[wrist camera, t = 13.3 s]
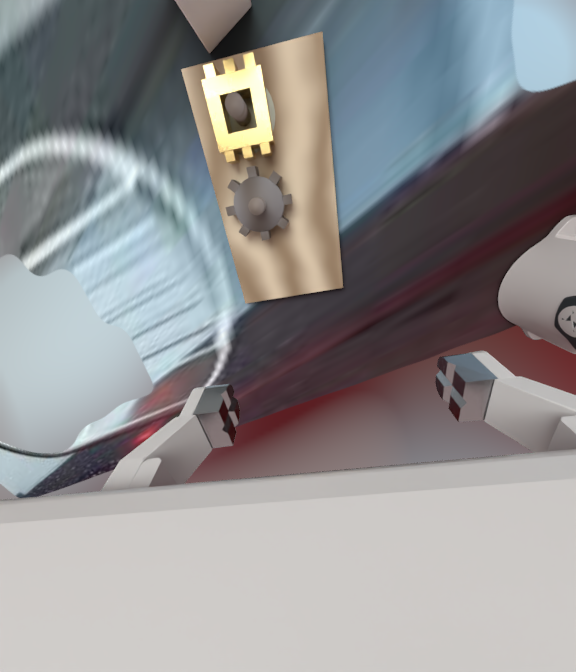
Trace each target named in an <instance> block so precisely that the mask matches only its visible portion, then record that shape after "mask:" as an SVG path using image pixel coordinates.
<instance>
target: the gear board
mask: <svg viewBox="0 0 576 672" xmlns="http://www.w3.org/2000/svg"><path fill="white" fill-rule="evenodd" d="M252 52H253V54H254V57H255V60H256V63H257V65H261V69H262V72H263V76H264V81H265V87H266V93H267V99H268V105H269V111H270V117H271V123H272V129H273V135H274V141H275V145H271V149H272V156H268V157H264V156H263V155H262V154H261V148H257V149H254V151H255V156H256V159H254V160H250V161H247V160H246V159H244V156H243V152H239V153H238V156H239V160H240V163H236V164H230V163H227V161H226V157H225V155H224V154H221V153H220V152H219V148H218V144H217V140H216V136H215V132H214V129H213V125H212V121H211V117H210V113H209V109H208V105H207V101H206V97H205V93H204V89H203V85H202V81H201V80H204V79H206V76H205V72H204V67H203V65H207V64H211V63H213V64H214V65H215V67H216V68H217V70H218V71H219V73H220V75H223V74H226V73H225V68H224V64H223V60H226V59H230V58H233V59H234V61H235V63H236V65H237V67H238V70H242V69H245V64H244V58H243V55H245V54H248V53H252ZM181 71H182V74H183V78H184V82H185V85H186V89H187V92H188V96H189V100H190V103H191V107H192V111H193V114H194V118H195V121H196V125H197V129H198V132H199V136H200V140H201V143H202V147H203V150H204V154H205V158H206V161H207V165H208V169H209V172H210V176H211V179H212V183H213V187H214V190H215V194H216V198H217V201H218V205H219V208H220V212H221V216H222V219H223V223H224V227H225V230H226V234H227V237H228V241H229V245H230V248H231V252H232V256H233V259H234V263H235V266H236V270H237V274H238V277H239V281H240V285H241V288H242V292H243V296H244V299H245V303H252V302H258V301H264V300H270V299H276V298H283V297H289V296H295V295H301V294H307V293H314V292H320V291H326V290H332V289H338V288H343V280H342V267H341V255H340V243H339V230H338V218H337V206H336V194H335V181H334V169H333V157H332V145H331V132H330V120H329V108H328V95H327V83H326V71H325V59H324V46H323V34H322V32H319V33H315V34H311V35H307V36H304V37H300V38H296V39H292V40H289V41H285V42H281V43H278V44H274V45H270V46H266V47H263V48H259V49H255V50H251V51H248V52H244V53H240V54H236V55H233V56H229V57H225V58H221V59H218V60H214V61H210V62H207V63H203V64H199V65H195V66H192V67H188V68H184V69H181ZM225 107H226V110H227V111H228V115H229V119H230V123H231V128H232V132H233V133H235V132H239V131H243V130H248V129H252V128H256V127H257V122H256V117H255V112H254V106H253V101H252V97H250V98H246V99H242V97H241V96H240V95H239V94H238V93H236V92H231V93H229V94H228V95H227V97H226V99H225Z"/></svg>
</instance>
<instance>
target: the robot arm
mask: <svg viewBox="0 0 576 672" xmlns="http://www.w3.org/2000/svg"><path fill="white" fill-rule="evenodd" d="M498 305H499V309H500V311H501V313H502V315H503V316H504V317H505V318H506V319H507V320H508V321H510V322H511V323H513V324H515V325H518V326H519V327H521V328H522V330H523V332H524V333H525V335H526V336H527V337H529V338H531V339H533V340H539V339H544V340H546V341H548V342H550V343H552V344H554V345H556V346H558V347H561V348H563V349H565V350H567V351H569V352H571V353H573V354H576V215H570V216H567V217H565V218H564V219H562V220H561V221H560V222H559V223H558V224H557V225H556V226H555V227H554V229H553V230H552V231H551V232H550V233H549V234H548V236H547V237H546V238H544V239H543V240H542V241H540V242H539V243H538V244H536V245H535V246H533V247H532V248H530V249H529V250H528V251H526V252H525V253H524V254H523V255H522V256H521V257H520V258H519V259H518V260H517V261H516V262H515V263H514V264H513V265H512V267H511V268H510V269H509V271H508V272H507V274H506V275H505V277H504V279H503V281H502V283H501V286H500V289H499V294H498ZM437 366H438V368H439V369H440V370H441V371H440V372H439V373H438V374H437V375H436V387H437V391H438V393H439V395H440V397H441V398H442V400H444V401H446V402H448V403H449V410H450V411H451V412H452V414H453V415H454V417H455V418H456V419H457V421H458V422H468V421H480V420H484V422H486V423H488V424H489V425H491V426H493V427H494V428H496V429H497V430H499V431H500V432H502V433H504V434H505V435H507V436H509V437H510V438H512V439H513V440H515V441H517V442H518V443H520V444H521V445H523V446H524V447H526V448H528V449H529V450H531V451H532V452H534V453H524V454H513V455H502V456H491V457H480V458H468V459H457V460H446V461H434V462H423V463H412V464H401V465H390V466H379V467H367V468H356V469H344V470H333V471H322V472H311V473H300V474H290V475H277V476H266V477H255V478H245V479H233V480H221V481H211V482H199V483H188V484H184V483H185V482H186V481H187V480H188V479H189V477H190V476H191V475H192V474H193V472H194V471H195V470H196V469H197V467H198V466H199V465H200V464H201V463H202V461H203V460H204V459H205V458H206V457H207V455H208V454H209V453H210V452H211V451H212V448H219V447H226V446H233V444H234V439H235V435H236V430H235V426H236V425H237V424H238V423H239V419H240V408H239V403H238V400H237V399H235V398H234V397H233V395H234V390H233V387H232V385H230V384H227V385H217V386H208V387H200V388H195V389H193V391H192V393H191V395H190V396H189V398H188V400H187V402H186V404H185V406H184V408H183V410H182V412H181V414H180V416H179V417H175V418H174V419H173V420H171V421H170V422H169V423H168V424H166V425H165V426H164V427H162V428H161V429H160V430H159V431H157V432H156V433H155V434H154V435H152V436H151V437H150V438H148V439H147V440H146V441H145V442H143V443H142V444H141V445H139V446H138V447H137V448H136V449H134V450H133V451H132V452H131V453H129V454H128V455H127V456H125V457H124V458H123V459H122V460H120V462H119V463H118V465H117V466H116V468H115V469H114V471H113V473H112V474H111V476H110V477H109V479H108V480H107V482H106V483H105V485H104V486H103V488H102V490H101V491H98V492H87V493H76V494H65V495H54V496H42V497H31V498H19V499H5V500H0V672H576V395H573V394H570V393H567V392H564V391H562V390H559V389H556V388H553V387H550V386H547V385H545V384H541V383H539V382H536V381H533V380H530V379H527V378H524V377H516V376H515V375H513V374H512V373H511V372H510V371H509V370H507V369H506V368H505V367H504V366H503V365H502V364H500V363H499V362H498V361H497V360H496V359H494V358H493V357H492V356H491V355H490V354H488V353H487V352H486V351H476V352H470V353H467V354H459V355H451V356H444V357H440V358H439V359H438V363H437Z"/></svg>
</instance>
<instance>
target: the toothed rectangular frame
mask: <svg viewBox="0 0 576 672" xmlns="http://www.w3.org/2000/svg"><path fill="white" fill-rule="evenodd" d="M243 58H244V64H245V69H242V70H238V67H237V65H236V63H235V61H234V59H233V58H230V59H226V60H223V64H224V68H225V73H226V74H223V75H220V73H219V71H218V70H217V68H216V67H215V65H214V64H213V63H211V64H207V65H203V67H204V72H205V76H206V79H204V80H201V81H202V85H203V89H204V93H205V97H206V101H207V105H208V109H209V113H210V117H211V121H212V125H213V129H214V132H215V136H216V140H217V144H218V148H219V152H220V153H221V154H224V155H225V157H226V161H227V163H230V164H236V163H240V160H239V156H238V153H239V152H243V156H244V159H246V160H247V161H250V160H254V159H256V156H255V151H254V149H257V148H261V154H262V155H263V156H264V157H268V156H272V149H271V145H275V141H274V135H273V129H272V123H271V117H270V111H269V105H268V99H267V93H266V87H265V81H264V76H263V72H262V69H261V65H257V63H256V60H255V57H254V54H253V52H252V53H248V54H245V55H243ZM231 92H236V93H238V94H239V95H240V96H241V97H242V99H246V98H250V97H252V101H253V106H254V112H255V117H256V122H257V127H256V128H252V129H248V130H243V131H239V132H235V133H233V132H232V128H231V123H230V119H229V115H228V111H227V110H226V107H225V99H226V97H227V95H228V94H229V93H231Z"/></svg>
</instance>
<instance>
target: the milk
mask: <svg viewBox="0 0 576 672" xmlns="http://www.w3.org/2000/svg"><path fill="white" fill-rule="evenodd" d="M175 1H176V3H177V5H178V6H179V8H180V9H181V11H182V12H183V14H184V15H185V17H186V18H187V20H188V22H189V23H190V25H191V26H192V28H193V29H194V31H195V32H196V34H197V36H198V37H199V39H200V40H201V42H202V43H203V45H204V46H205V48H206V50H207V51H208V53H211V52H212V51H213V49H214V48H215V47H216V46H217V45H218V44H219V43H220V41H221V40H222V39H223V38H224V37H225V36H226V35H227V34H228V32H229V31H230V30H231V29H232V28H233V27H234V26H235V25H236V23H237V22H238V21H239V20H240V19H241V18H242V17H243V15H244V14H245V13H246V12H247V11H248V10H249V9H250V8H251V1H250V0H175Z"/></svg>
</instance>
